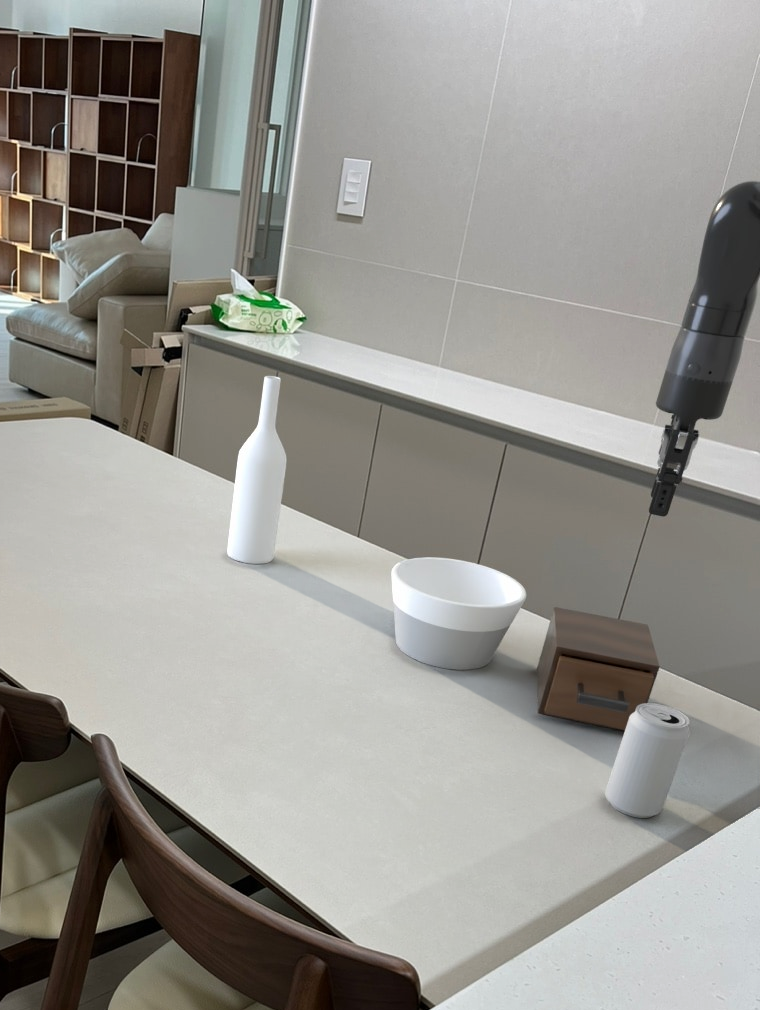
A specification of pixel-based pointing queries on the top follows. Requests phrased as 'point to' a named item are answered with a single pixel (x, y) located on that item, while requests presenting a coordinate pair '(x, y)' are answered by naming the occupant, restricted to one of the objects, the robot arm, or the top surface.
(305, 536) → the top surface
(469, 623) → the bowl
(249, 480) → the bottle
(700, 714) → the top surface
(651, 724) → the beverage can
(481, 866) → the top surface
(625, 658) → the cabinet
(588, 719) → the drawer
